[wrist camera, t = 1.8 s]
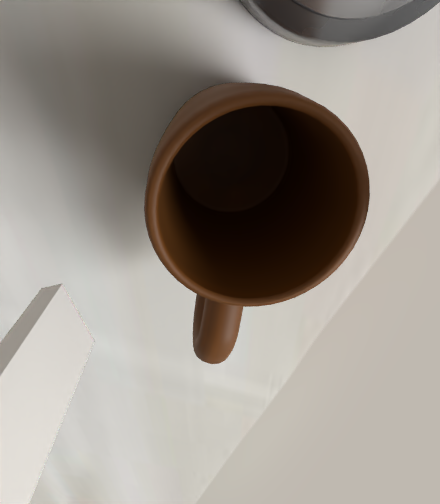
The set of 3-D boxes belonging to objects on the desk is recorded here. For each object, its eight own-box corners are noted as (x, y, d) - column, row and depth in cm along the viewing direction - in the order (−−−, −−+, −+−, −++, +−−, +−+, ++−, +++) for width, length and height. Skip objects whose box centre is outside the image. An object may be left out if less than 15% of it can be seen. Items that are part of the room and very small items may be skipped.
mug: (255, 282, 23) (290, 397, 15) (147, 266, 22) (118, 381, 13) (314, 100, 18) (421, 120, 9) (175, 65, 16) (155, 51, 8)
